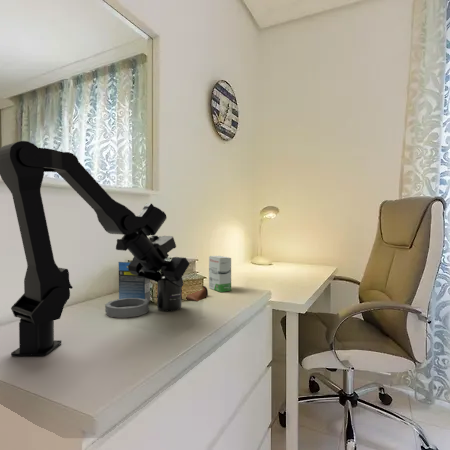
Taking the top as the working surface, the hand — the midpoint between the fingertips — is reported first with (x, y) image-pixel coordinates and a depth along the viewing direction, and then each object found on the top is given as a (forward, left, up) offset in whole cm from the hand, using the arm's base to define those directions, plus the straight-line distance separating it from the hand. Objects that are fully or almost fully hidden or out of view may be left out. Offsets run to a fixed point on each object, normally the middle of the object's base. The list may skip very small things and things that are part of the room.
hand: (173, 284), depth 94 cm
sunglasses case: (+13, 0, -7) cm, 15 cm away
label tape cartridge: (+7, +13, -7) cm, 16 cm away
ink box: (+24, -13, -7) cm, 28 cm away
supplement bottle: (-1, +1, -7) cm, 7 cm away
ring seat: (-4, +12, -7) cm, 14 cm away
